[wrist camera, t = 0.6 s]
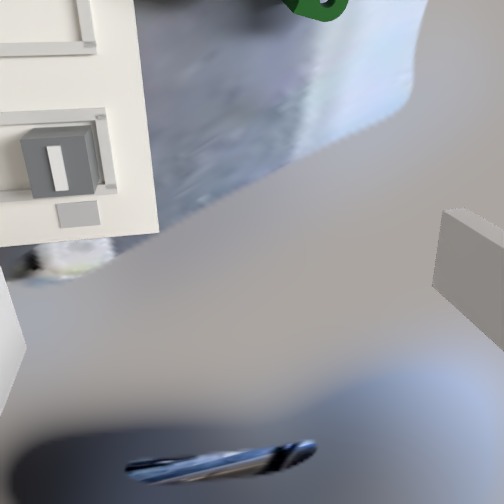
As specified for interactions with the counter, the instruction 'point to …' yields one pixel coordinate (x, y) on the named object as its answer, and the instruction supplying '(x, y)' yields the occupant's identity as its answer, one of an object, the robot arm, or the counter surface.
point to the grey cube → (60, 161)
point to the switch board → (74, 117)
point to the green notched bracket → (317, 8)
